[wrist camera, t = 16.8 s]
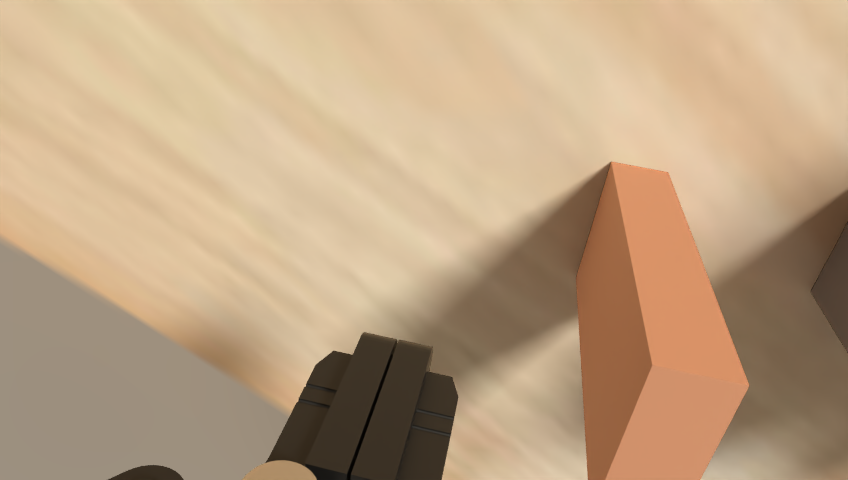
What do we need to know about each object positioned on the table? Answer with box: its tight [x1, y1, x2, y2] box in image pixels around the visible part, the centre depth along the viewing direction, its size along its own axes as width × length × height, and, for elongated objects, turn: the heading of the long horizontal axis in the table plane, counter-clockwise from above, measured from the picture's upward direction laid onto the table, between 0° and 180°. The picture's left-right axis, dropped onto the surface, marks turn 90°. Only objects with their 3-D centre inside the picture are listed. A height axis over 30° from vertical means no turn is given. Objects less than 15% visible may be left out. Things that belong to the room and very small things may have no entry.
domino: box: [576, 162, 749, 480], centre depth 20 cm, size 2×5×11 cm, turn 172°
